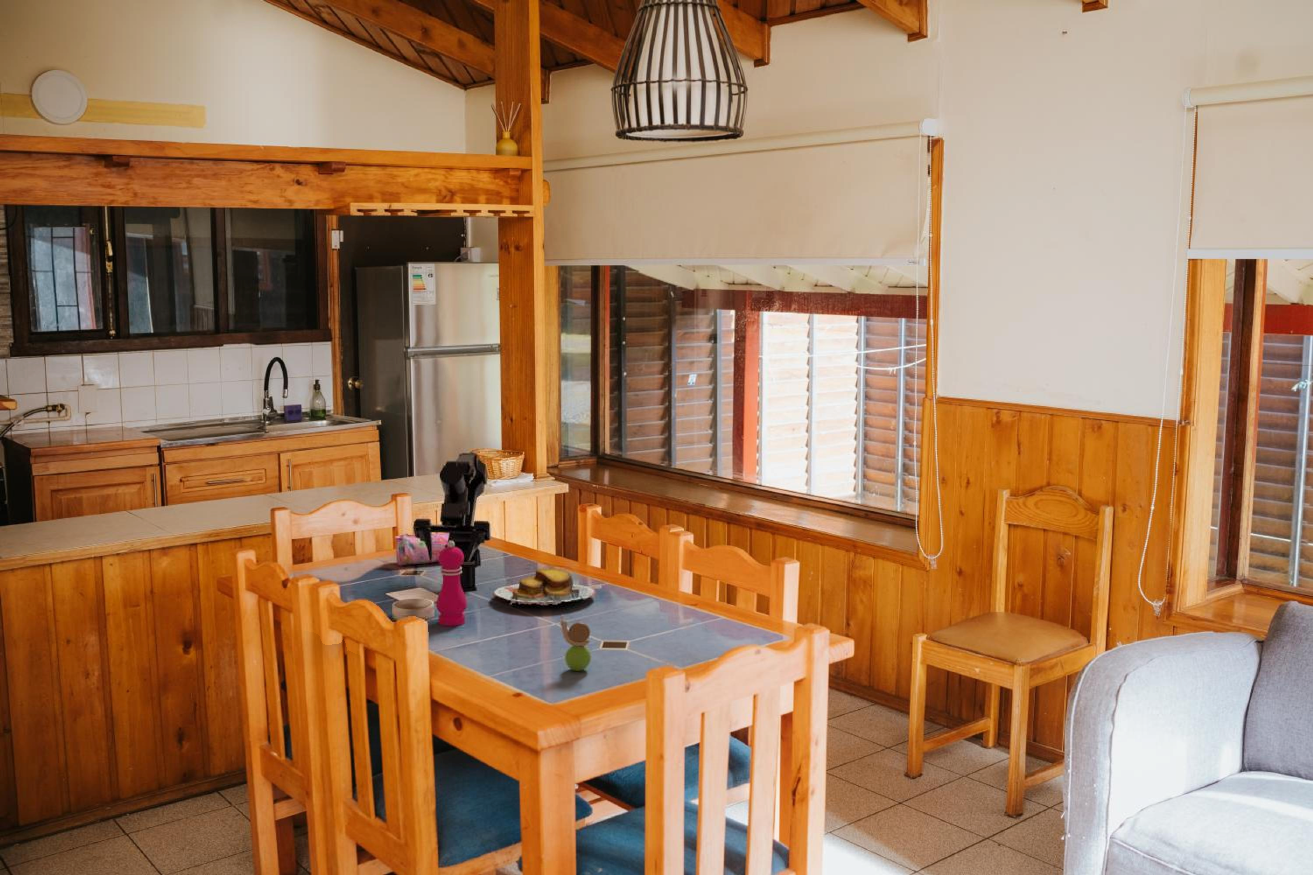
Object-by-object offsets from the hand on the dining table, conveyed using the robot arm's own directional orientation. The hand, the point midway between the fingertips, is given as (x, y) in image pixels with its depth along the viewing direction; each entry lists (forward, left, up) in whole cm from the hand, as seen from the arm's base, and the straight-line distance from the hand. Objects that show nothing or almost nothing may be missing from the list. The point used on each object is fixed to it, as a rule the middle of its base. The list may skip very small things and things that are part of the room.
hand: (449, 560), depth 289 cm
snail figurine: (-18, +51, -13) cm, 56 cm away
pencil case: (-4, -53, -13) cm, 54 cm away
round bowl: (+9, +1, -13) cm, 16 cm away
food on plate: (-25, -4, -14) cm, 29 cm away
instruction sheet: (+6, -16, -13) cm, 21 cm away
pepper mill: (+1, +9, -13) cm, 16 cm away
